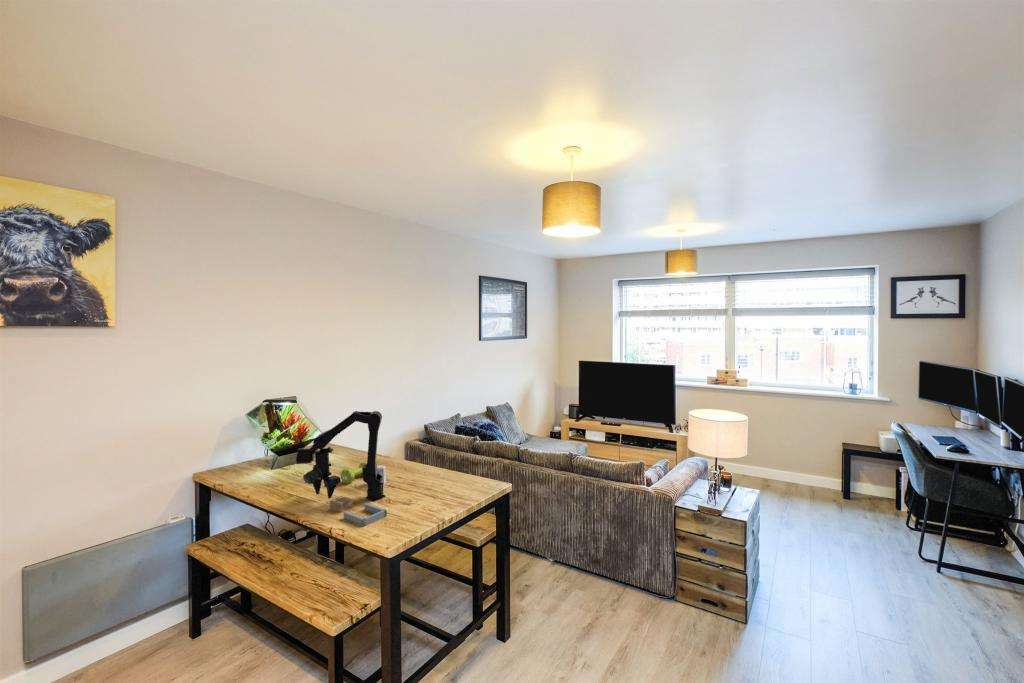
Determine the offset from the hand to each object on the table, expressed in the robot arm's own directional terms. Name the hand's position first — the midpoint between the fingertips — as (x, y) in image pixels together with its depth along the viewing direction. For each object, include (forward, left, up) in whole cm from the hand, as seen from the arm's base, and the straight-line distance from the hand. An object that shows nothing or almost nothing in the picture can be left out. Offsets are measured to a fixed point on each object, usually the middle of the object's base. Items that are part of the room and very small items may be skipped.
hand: (323, 496), depth 209 cm
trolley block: (0, +13, -3) cm, 13 cm away
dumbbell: (-27, -13, -3) cm, 30 cm away
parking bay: (0, +29, -2) cm, 29 cm away
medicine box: (-28, +2, -3) cm, 28 cm away
